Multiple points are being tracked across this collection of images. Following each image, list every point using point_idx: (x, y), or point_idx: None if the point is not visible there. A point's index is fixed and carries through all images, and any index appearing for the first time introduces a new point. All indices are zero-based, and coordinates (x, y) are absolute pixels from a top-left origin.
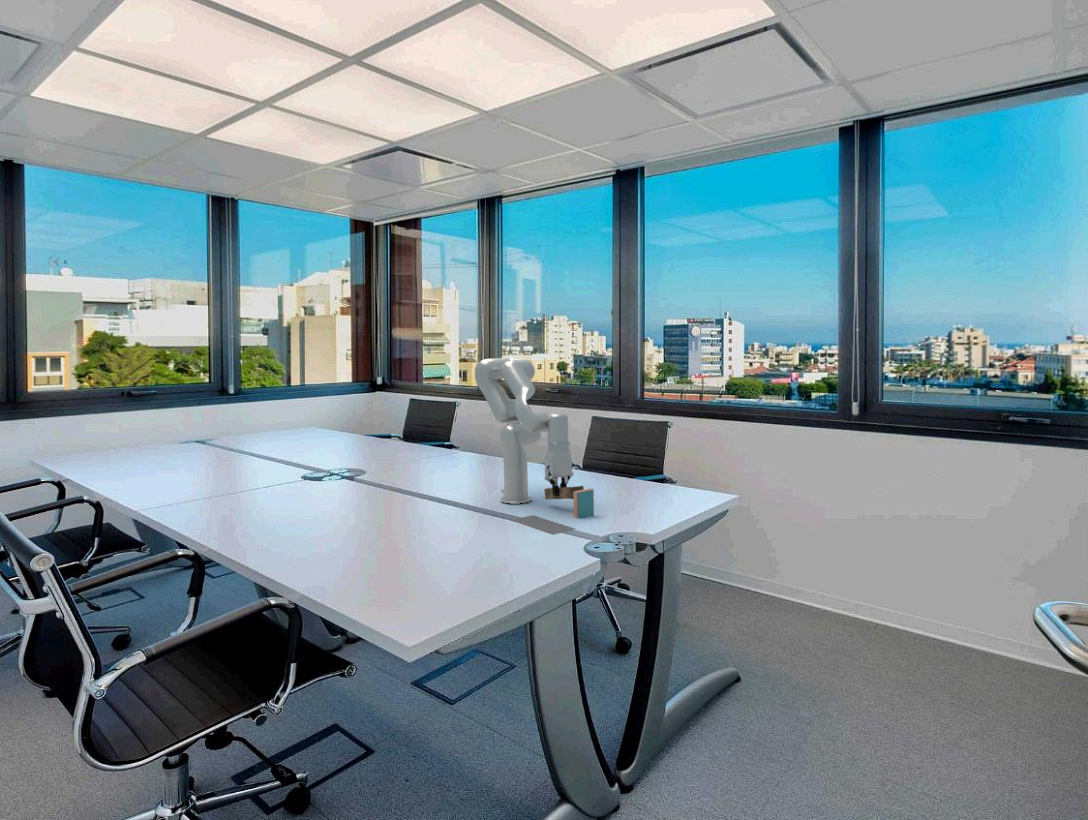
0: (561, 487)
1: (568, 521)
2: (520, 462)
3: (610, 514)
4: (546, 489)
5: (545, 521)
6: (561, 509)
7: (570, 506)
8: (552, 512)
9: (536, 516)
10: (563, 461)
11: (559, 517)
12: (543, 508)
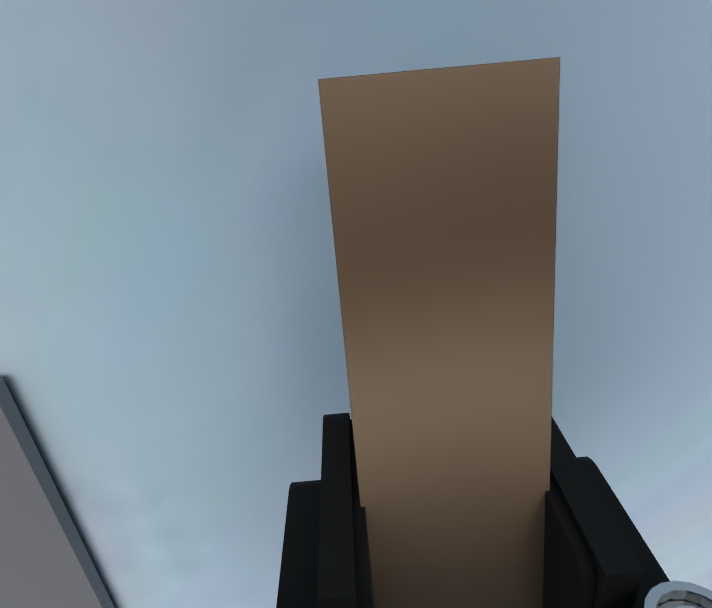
0: (505, 578)
1: (254, 596)
2: None
3: None
4: (330, 200)
5: (42, 589)
6: None
7: (640, 217)
8: (291, 323)
9: (11, 443)
10: None
11: (252, 492)
12: (298, 82)
